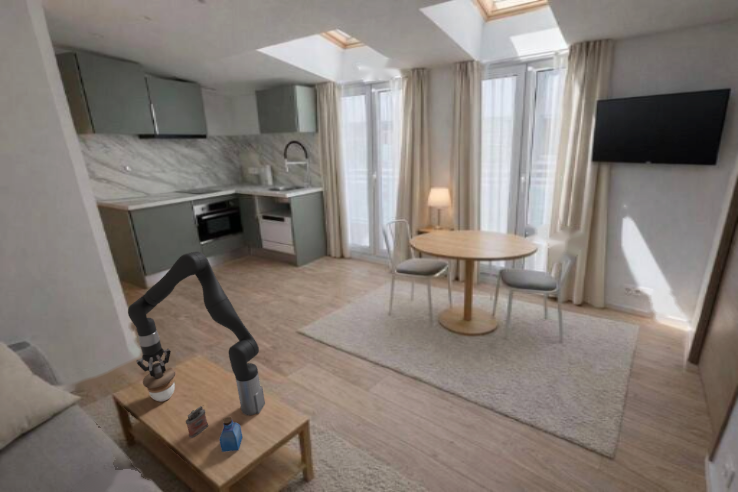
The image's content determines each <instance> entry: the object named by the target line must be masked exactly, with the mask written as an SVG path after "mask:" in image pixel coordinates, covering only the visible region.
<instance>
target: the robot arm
mask: <svg viewBox="0 0 738 492" xmlns="http://www.w3.org/2000/svg"><path fill="white" fill-rule="evenodd" d="M190 276H195V277H196V278H197V280H198V281H199V283H200V286H201V288H202V297H203V304H204V307H205V308H206V311H207V312H208V314H209V316H210V317H211V319H212V320H213V321H214V322H215V323H217V324H218V325H220V326H222V327H224V328H226V329H228V330H230V331H231V332H232V333H233V334H234V335H235V336H236V338H237V340H238V341H237V342H235V343H234V344H233V345H231V346H230V347H229V348H228V358H229V361H230V366H231V370H232V373H233V374H234V376H235V383H236V388H237V392H238V393H237V395H238V400H239V404H240V409H241V412H242V414H243V415H245V416H252V415H255V414H260V413H261V411H262V409H264V406H265V404H266V400H265V394H264V388H263V385H261V382H260V376H259V375H260V374H259V370H258V369H259V368H258V366H257V365H256V364H254V363H252V362H250V361H251V360H252V359H253V358H256V356H257V355H258V354H259V353H260V348H259V345H258V343H257V340H256V339H255V338H254V336H253V335H252V333H251V332H250V331H249V329H248V328H247V327H246V325H245V324H244V323H243V321H242V320H241V317H240V316H239V315H238V313H237V311H236V310H235V308H234V306H233V304H232V302H231V300H230V299H229V297H228V295H227V294H226V293H225V291H224V290H223V288H222V286H221V284H220V282H219V280H218V279H217V277H216V275H215V272H214V270H213V268H212V265H211V264H210V261H209V259H208V258H207V256H206V255H205V254H204V253H203V252H201V251H193V252H188V253H184V254H181V256H179V257H178V259H176V261H175V262H174V263H173V265H172V266H171V268H170V269H169V270H168V271H167V272H166V273H165V274H164V275H163V277H161V279H160V280H158V281H157V282H156V283H155V284H153V285H152V287H149V289H147V290H146V292H145V293H144V294H143V295H142V296H141V297H139V298H138V299H137V300H135V301H134V302H133V303H132V304H130V305H129V307H128V309H127V314H128V317H129V319H130V320H131V322H132V323H133V325H134V326H135V328H136V332H137V335H138V342H139V345H140V346H139V347H140V349H141V353H142V357H141V358H140V359H136V361H135V362H136V364H137V366H139V368H140V369H142V370H143V372H147V371H148V372H149V373H150V375H151V377H152V376H153V377H155V376H154V372H153V369H152V366H153V364H155V362H158V363H160V364H161V367H162V371H163V373H165V372H164V371H166V369H165V368H166V364H168V363H169V362H170V356H171V349H170V348H167V349H163V347H162V343H161V339H160V334H159V332H158V330H157V326H156V323H155V320H154V319H153V318H151V317H147V315H148V314H149V313H150V312H151V311H152V310H153V309H154V308H156V307H157V305H158V304H160V303H162V302H163V301H164V300H165V299H167V297H169V296H170V295H171V294H172V292H174V289H175V287H176V286H177V285H178V284H179V283H181V282H182V281H183V280H185V279H187V278H189V277H190ZM163 355H164V360H163V358H162V357H163ZM144 361H145V362H147V366H146V365H145V364H144Z"/></svg>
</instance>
